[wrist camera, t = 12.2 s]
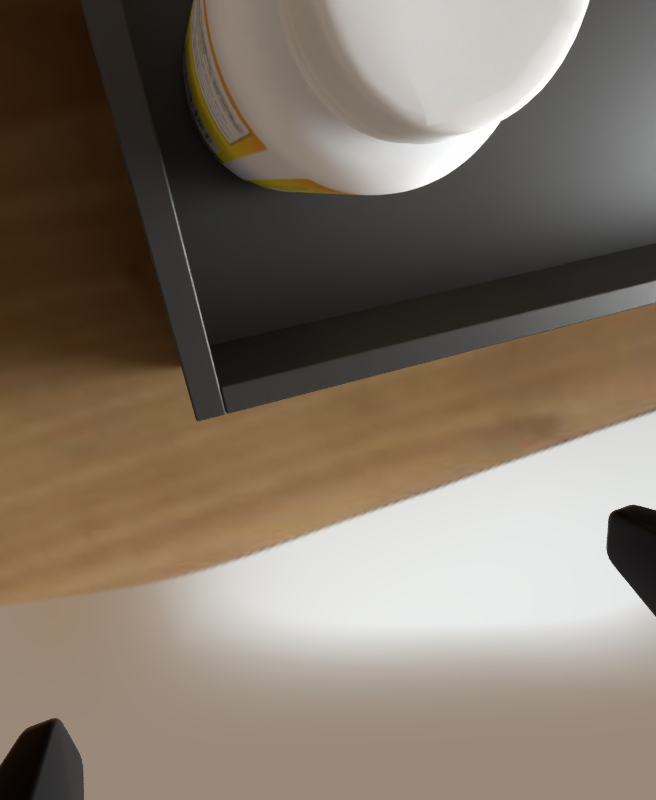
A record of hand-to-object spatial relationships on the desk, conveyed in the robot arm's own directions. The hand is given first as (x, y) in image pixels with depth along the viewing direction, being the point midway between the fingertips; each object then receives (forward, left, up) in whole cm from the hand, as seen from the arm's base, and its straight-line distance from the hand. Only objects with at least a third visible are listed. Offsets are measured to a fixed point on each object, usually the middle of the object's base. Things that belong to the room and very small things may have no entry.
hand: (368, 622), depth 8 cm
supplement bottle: (+6, +7, -12) cm, 15 cm away
